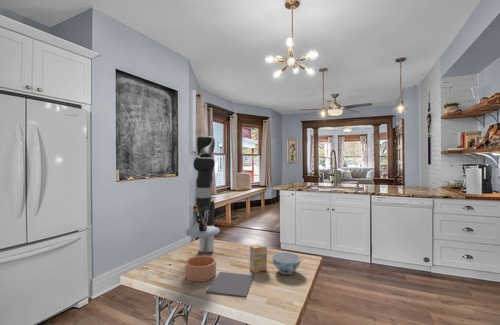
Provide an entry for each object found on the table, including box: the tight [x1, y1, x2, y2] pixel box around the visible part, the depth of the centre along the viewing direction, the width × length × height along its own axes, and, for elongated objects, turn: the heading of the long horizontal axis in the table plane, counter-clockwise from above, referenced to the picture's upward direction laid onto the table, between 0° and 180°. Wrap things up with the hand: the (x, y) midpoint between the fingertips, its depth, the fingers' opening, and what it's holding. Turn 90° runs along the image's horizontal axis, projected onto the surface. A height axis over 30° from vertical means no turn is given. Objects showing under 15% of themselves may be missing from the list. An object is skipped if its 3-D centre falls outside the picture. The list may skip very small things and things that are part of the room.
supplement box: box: [249, 243, 268, 273], centre depth 131 cm, size 8×5×13 cm, turn 118°
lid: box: [185, 220, 221, 238], centre depth 124 cm, size 17×17×6 cm
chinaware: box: [272, 251, 302, 275], centre depth 129 cm, size 15×15×8 cm
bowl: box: [185, 255, 217, 283], centre depth 124 cm, size 15×15×7 cm
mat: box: [206, 271, 255, 298], centre depth 115 cm, size 20×18×1 cm
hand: (203, 229), depth 124 cm, fingers closed on lid, 4 cm apart
